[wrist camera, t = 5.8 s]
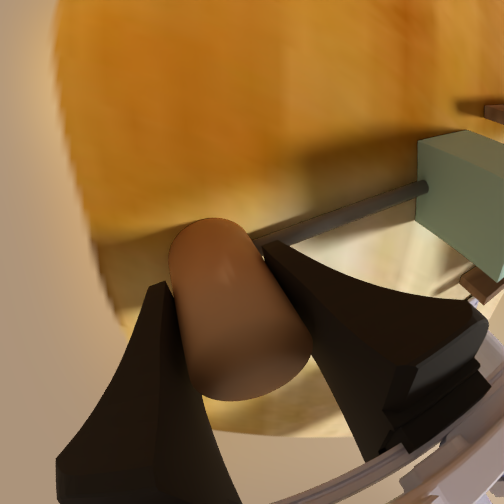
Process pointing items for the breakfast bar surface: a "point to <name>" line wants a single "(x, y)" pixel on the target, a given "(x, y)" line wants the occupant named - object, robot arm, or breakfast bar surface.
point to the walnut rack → (476, 278)
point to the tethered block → (250, 251)
